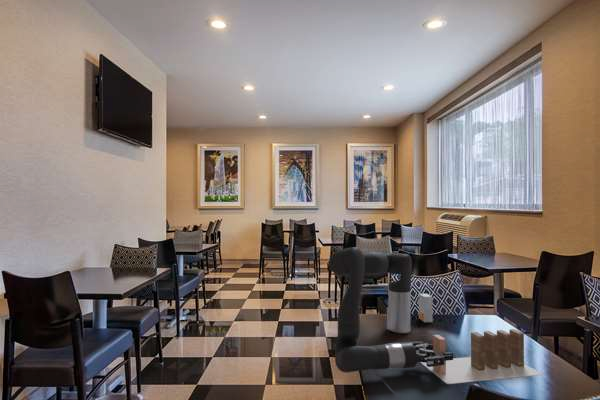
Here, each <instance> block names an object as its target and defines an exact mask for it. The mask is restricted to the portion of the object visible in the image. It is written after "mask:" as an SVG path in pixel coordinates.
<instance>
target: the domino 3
mask: <svg viewBox="0 0 600 400" xmlns="http://www.w3.org/2000/svg"><path fill="white" fill-rule="evenodd" d="M496 335H498V364H500V365H501V366H503V367H505V368H511V334H510V332H507V331H504V330H502V329H499V330H497V329H496Z"/></svg>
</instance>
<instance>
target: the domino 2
mask: <svg viewBox="0 0 600 400" xmlns="http://www.w3.org/2000/svg"><path fill="white" fill-rule="evenodd" d="M483 336H484V354H485V365H486V366H488V367H490V368H491V369H498V335H497V333H494V332H493V331H490V330H487V331H486V330H485V331H483Z"/></svg>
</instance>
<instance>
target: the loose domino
mask: <svg viewBox="0 0 600 400" xmlns="http://www.w3.org/2000/svg"><path fill="white" fill-rule="evenodd" d="M432 344H433V351H434V352H436V353H447V352H446V351H447V349H446V348H447V345H446V344H447V341H446V338H445V337H443V336H442V335H440V334H432ZM435 356H436V355H435ZM433 369H434V370H435V371H436V372H438V373H439V374H446V361H444V365H441V366H433Z"/></svg>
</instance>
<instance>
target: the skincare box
mask: <svg viewBox="0 0 600 400" xmlns="http://www.w3.org/2000/svg"><path fill="white" fill-rule="evenodd" d="M418 307H419V308H418V319H420V320H421V321H422V322H423V323H434V322H433V321H434V320H433V296H432V295H431V294H428V293H418Z"/></svg>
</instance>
